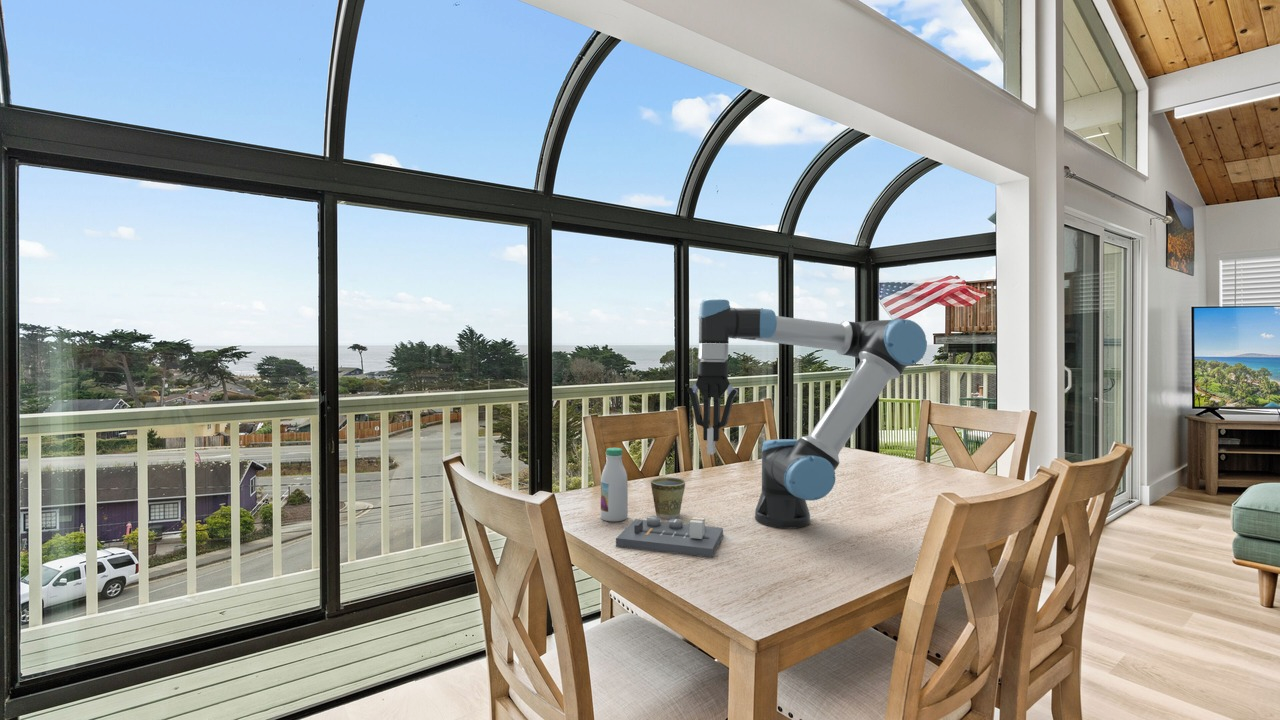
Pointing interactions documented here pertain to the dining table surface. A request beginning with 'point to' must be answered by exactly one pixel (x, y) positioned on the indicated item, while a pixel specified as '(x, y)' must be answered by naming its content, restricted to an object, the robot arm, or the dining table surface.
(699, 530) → the fader cap
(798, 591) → the dining table surface
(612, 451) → the milk bottle
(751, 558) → the dining table surface
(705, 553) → the console
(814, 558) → the dining table surface
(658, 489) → the ceramic cup
